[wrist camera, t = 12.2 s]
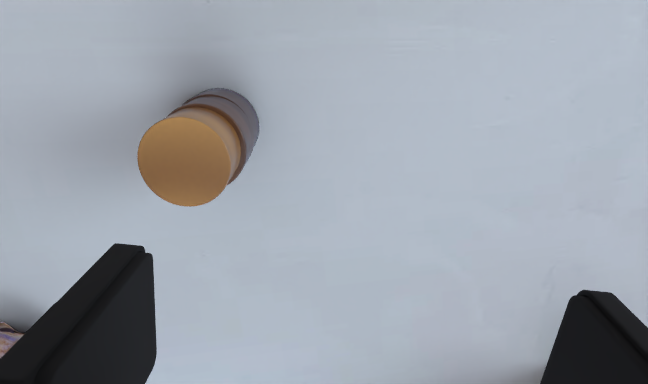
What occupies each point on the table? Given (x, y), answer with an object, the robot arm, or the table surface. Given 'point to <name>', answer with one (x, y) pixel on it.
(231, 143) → the copper brown cylinder
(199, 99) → the pile chip top
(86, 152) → the table surface
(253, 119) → the pile chip bottom
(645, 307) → the table surface
